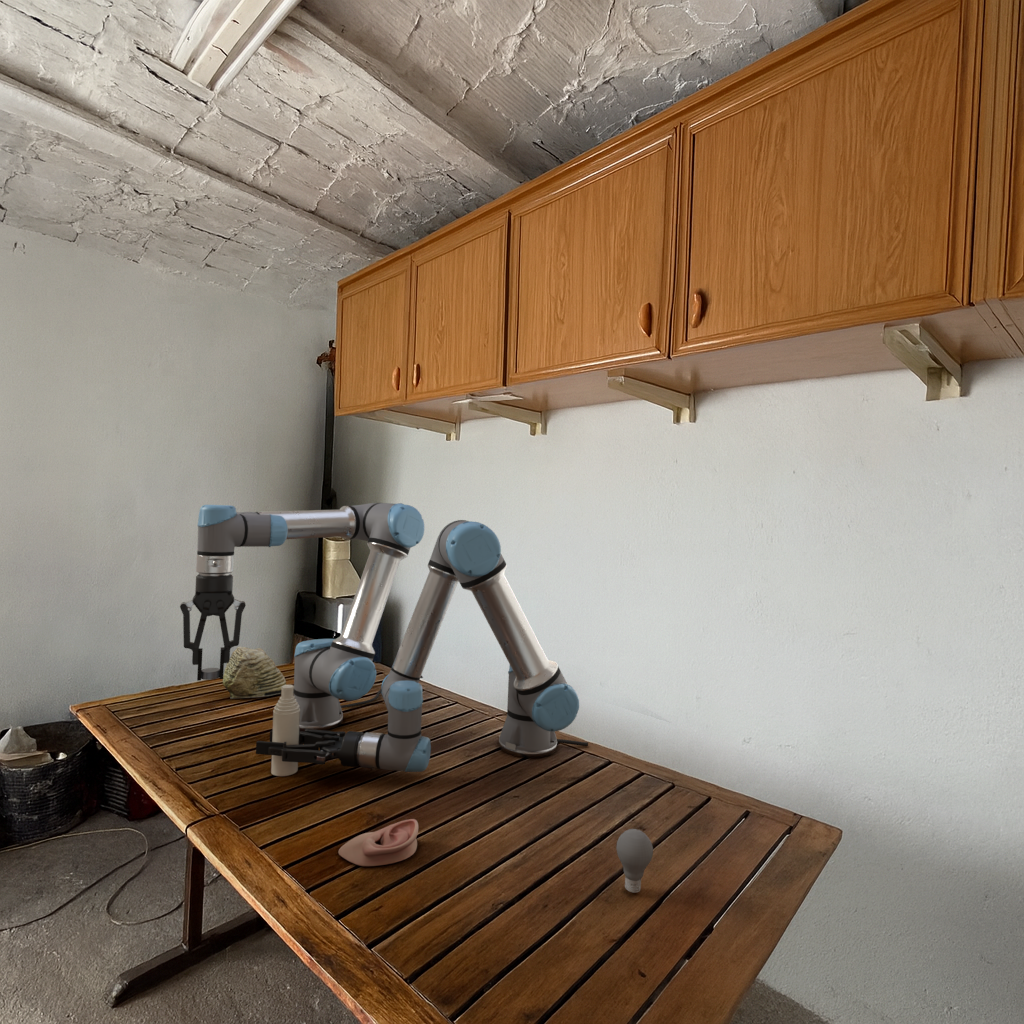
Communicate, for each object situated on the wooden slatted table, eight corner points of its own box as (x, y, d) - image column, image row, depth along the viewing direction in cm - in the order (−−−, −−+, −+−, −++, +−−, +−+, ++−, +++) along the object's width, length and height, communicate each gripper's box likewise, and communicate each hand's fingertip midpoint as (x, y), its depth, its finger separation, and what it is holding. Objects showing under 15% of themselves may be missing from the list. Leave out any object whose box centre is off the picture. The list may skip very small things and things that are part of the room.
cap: (208, 674, 144) (208, 667, 144) (223, 676, 143) (224, 668, 143) (196, 679, 140) (197, 671, 140) (212, 680, 139) (213, 673, 139)
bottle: (300, 765, 149) (304, 683, 148) (293, 776, 143) (297, 690, 142) (275, 765, 148) (278, 682, 148) (267, 776, 142) (270, 689, 142)
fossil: (218, 695, 195) (220, 647, 195) (278, 685, 208) (279, 640, 207) (228, 703, 189) (230, 653, 188) (289, 692, 201) (290, 645, 201)
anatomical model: (330, 838, 110) (359, 807, 121) (329, 861, 110) (358, 828, 121) (402, 850, 107) (425, 817, 119) (401, 873, 108) (424, 838, 119)
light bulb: (610, 879, 108) (613, 822, 108) (644, 879, 109) (647, 822, 109) (619, 902, 102) (622, 840, 102) (655, 901, 103) (658, 840, 103)
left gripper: (171, 576, 134) (166, 685, 135) (256, 575, 141) (251, 680, 142) (173, 571, 141) (168, 676, 141) (254, 571, 148) (250, 671, 149)
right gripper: (346, 784, 134) (242, 775, 136) (373, 749, 153) (281, 742, 155) (347, 749, 134) (243, 741, 136) (375, 719, 153) (282, 712, 155)
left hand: (210, 677), depth 142 cm, fingers closed on cap, 4 cm apart
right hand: (264, 741), depth 146 cm, fingers closed on bottle, 6 cm apart
